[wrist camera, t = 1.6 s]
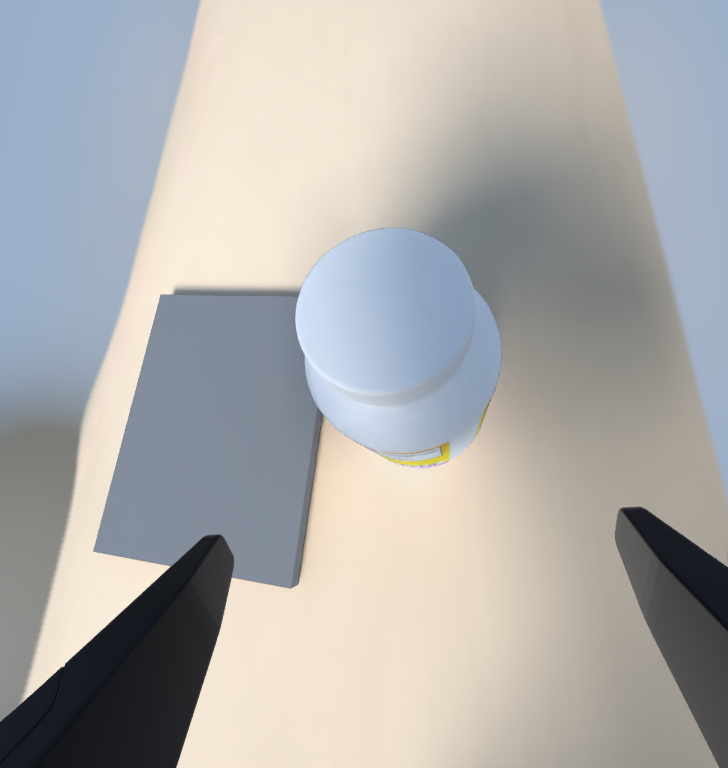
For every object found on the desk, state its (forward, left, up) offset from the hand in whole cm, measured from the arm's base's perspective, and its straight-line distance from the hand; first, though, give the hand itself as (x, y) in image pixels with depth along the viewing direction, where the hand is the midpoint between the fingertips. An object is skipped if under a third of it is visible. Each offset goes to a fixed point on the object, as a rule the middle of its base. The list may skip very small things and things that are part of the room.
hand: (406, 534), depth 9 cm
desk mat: (+11, +7, -12) cm, 18 cm away
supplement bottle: (+5, -3, -12) cm, 14 cm away
